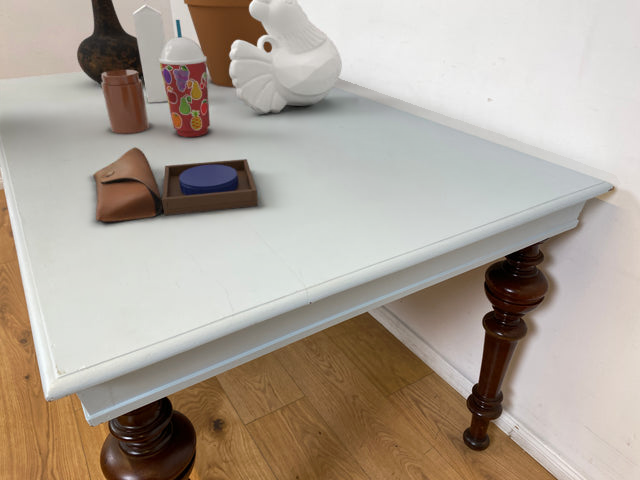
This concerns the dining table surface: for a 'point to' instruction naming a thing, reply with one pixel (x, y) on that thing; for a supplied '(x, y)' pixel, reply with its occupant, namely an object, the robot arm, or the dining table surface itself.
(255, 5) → the decorative rooster
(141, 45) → the milk
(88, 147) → the dining table surface
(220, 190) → the lid
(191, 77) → the smoothie
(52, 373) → the dining table surface
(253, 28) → the flowerpot
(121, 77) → the jar
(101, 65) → the dark brown vase
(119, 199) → the sunglasses case
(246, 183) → the tray
